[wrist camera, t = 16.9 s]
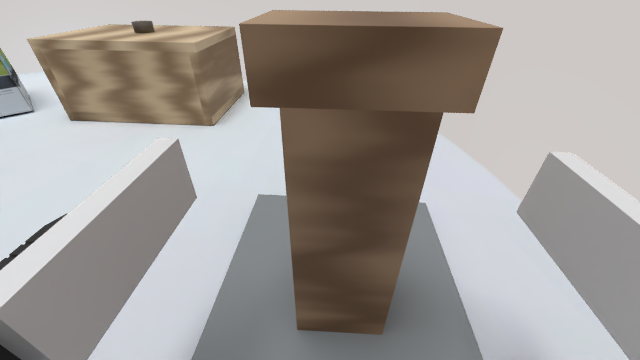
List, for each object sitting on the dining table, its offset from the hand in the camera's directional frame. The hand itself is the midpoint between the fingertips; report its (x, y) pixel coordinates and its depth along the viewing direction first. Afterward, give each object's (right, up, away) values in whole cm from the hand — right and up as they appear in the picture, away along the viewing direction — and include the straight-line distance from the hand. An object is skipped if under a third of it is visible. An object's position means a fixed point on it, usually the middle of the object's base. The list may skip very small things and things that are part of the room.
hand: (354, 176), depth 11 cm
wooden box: (-25, +12, +33) cm, 43 cm away
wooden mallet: (0, -7, +6) cm, 9 cm away
